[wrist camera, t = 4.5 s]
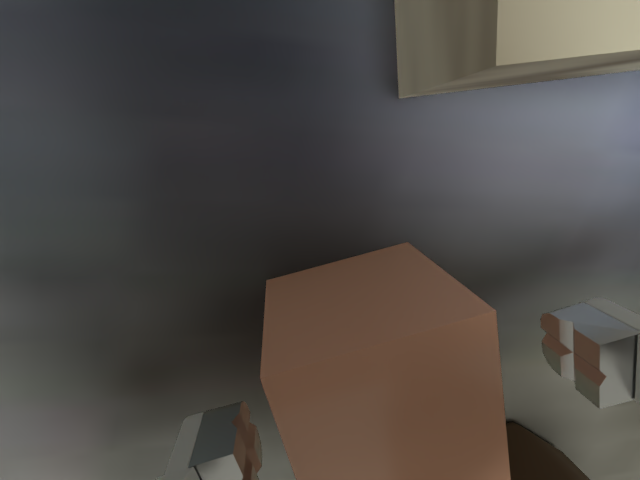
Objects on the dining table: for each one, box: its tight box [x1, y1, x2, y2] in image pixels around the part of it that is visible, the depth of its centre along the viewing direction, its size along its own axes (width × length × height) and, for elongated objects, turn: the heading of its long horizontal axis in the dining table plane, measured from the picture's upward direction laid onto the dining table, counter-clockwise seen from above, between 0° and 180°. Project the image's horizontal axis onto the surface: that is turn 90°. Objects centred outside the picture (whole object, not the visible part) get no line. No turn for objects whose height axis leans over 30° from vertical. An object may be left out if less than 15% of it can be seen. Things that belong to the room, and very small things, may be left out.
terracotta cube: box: [260, 242, 511, 480], centre depth 10 cm, size 5×5×5 cm
